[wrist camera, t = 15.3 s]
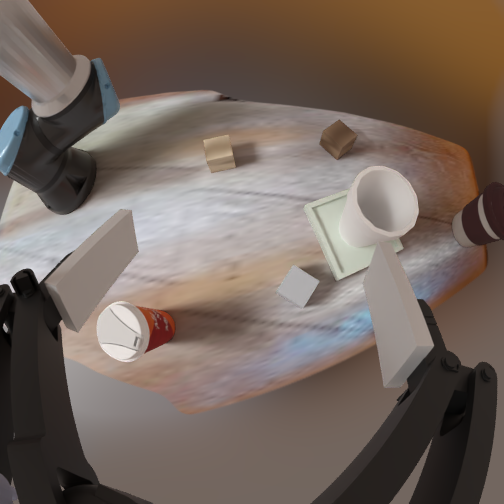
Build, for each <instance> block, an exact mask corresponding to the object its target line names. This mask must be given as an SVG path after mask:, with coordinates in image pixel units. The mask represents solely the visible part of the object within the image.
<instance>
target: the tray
mask: <svg viewBox="0 0 504 504" xmlns="http://www.w3.org/2000/svg"><path fill="white" fill-rule="evenodd" d="M349 190H350V188H349V189H347V190H344V191H341V192H339V193H336V194H333V195H330V196H328V197H325V198H322V199H320V200H317V201H314V202H312V203H309V204H306V205H305V207H304V211H305V213H306V215H307V218H308V220H309V222H310V224H311V226H312V228H313V230H314V233H315V235H316V237H317V239H318V241H319V244H320V246H321V248H322V250H323V253H324V255H325V257H326V259H327V262H328V264H329V266H330V269H331V271H332V273H333V276H334V278H335V281H337V280H340V279H342V278H344V277H346V276H348V275H351V274H353V273H355V272H357V271H359V270H361V269H363V268H366V267H368V266H369V265H370V263H371V260H372V257H373V254H374V251H375V248H376V245H377V243H376V244H373V245H369V246H365V247H359V248H356V247H353V246H349V245H348V244H347V243H346V242H345V241H344V240H343V239H342V237H341V235H340V233H339V222H340V219H341V216H342V213H343V210H344V207H345V204H346V201H347V194H348V192H349ZM384 242H387V243H391V244H392V246H393V248H394V250H395V252H398V251H400V250H402V249H404V248H403V246H402V243H401V241H400V239H399V238H398V239H396V240H390V241H384Z"/></svg>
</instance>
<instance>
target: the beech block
mask: <svg viewBox="0 0 504 504" xmlns="http://www.w3.org/2000/svg"><path fill="white" fill-rule="evenodd" d="M203 142H204V149H205V155H206V161H207V164H208V166H209V169H210V171H211V173H214V172H218V171H223V170H227V169H232V168H236V165H235V161H234V156H233V151H232V146H231V142H230V138H229V134H228V135H223V136H219V137H214V138H210V139H206V140H203Z"/></svg>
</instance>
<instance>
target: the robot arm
mask: <svg viewBox="0 0 504 504" xmlns="http://www.w3.org/2000/svg"><path fill="white" fill-rule="evenodd" d="M0 75H1V76H2V77H4V78H5V79H6V80H8V81H9V82H10V83H12V84H13V85H14V86H15V87H17V88H18V89H19V90H21V91H22V92H23V93H25V94H26V95H27V96H29V97H30V98H31V99H32V108H31V109H30V110H28V108H27V107H25V106H20V107H19V108H17V109H16V110H14V111H13V112H12V114H11V115H10V116H9V117H8V119H7V120H6V121H5V123H4V125H3V126H2V128H1V130H0V171H1V172H2V173H3V174H4V175H5V176H8V177H9V178H11V179H13V180H15V181H16V182H18V183H20V184H21V185H23V186H25V187H27V188H28V189H30V190H32V191H34V192H35V193H37V195H38V196H39V197H40V199H41V200H42V202H43V203H44V204H45V206H46V207H47V208H48V209H49V210H51V211H53V212H54V213H56V214H60V215H64V214H68V213H70V212H72V211H74V210H75V209H76V208H77V207H79V206H80V205H81V204H82V202H83V201H84V200H85V199H86V197H87V196H88V194H89V192H90V190H91V188H92V186H93V183H94V180H95V176H96V164H95V161H94V159H93V158H92V157H91V156H90V155H89V154H88V153H87V152H85V151H84V150H80V149H76V148H73V147H71V146H73V145H74V144H75V143H77V142H78V141H79V140H81V139H82V138H84V137H85V136H86V135H88V134H89V133H91V132H92V131H94V130H95V129H97V128H98V127H100V126H101V125H103V124H105V123H106V121H107V120H109V119H110V118H111V117H113V116H114V115H116V114H117V113H118V111H119V109H120V103H119V100H118V98H117V96H116V93H115V91H114V88H113V86H112V83H111V81H110V78H109V76H108V73H107V71H106V69H105V66H104V64H103V62H102V60H101V59H100V58H97V59H93V60H92V61H91V62H90V61H89V60H88V58H86V57H85V56H83V55H74V56H72V55H71V53H70V52H69V51H68V50H67V48H66V47H65V46H64V45H63V44H62V42H61V41H60V40H59V39H58V37H57V36H56V35H55V34H54V32H53V31H52V30H51V29H50V27H49V26H48V25H47V24H46V22H45V21H44V20H43V19H42V17H41V16H40V15H39V14H38V12H37V11H36V10H35V8H34V7H33V6H32V5H31V3H29V1H28V0H0ZM138 252H139V251H138V246H137V241H136V235H135V229H134V223H133V216H132V210H123V209H120V210H119V211H118V212H117V213H116V214H114V215H113V216H112V217H111V218H110V219H109V220H108V221H106V222H105V223H104V224H103V225H102V226H101V227H100V228H98V229H97V230H96V231H95V232H94V233H93V234H92V235H91V236H90V237H89V238H88V239H86V240H85V241H84V242H83V243H82V244H81V245H80V246H79V247H78V248H77V249H76V250H75V251H73V252H71V253H70V254H68V255H66V256H65V257H64V258H63V259H62V260H61V261H60V263H58V264H57V265H56V266H55V268H54V269H53V270H52V271H51V272H50V273H49V274H48V275H47V276H46V277H45V278H44V279H43V280H42V281H41V282H40V283H39V284H38V281H37V279H36V277H35V275H34V272H33V271H32V270H31V269H23V270H21V271H19V272H17V273H16V274H15V275H14V276H13V277H12V279H11V281H10V282H11V284H12V286H13V288H14V290H15V292H16V293H12V291H11V289H10V287H9V286H8V285H7V284H3V285H0V504H13V501H12V500H17V499H19V503H20V504H153V503H151V502H149V501H146V500H144V499H141V498H139V497H136V496H133V495H131V494H129V493H126V492H123V491H119V490H117V489H113V488H110V487H108V486H105V485H102V484H100V483H99V481H98V478H97V476H96V474H95V472H94V470H93V468H92V467H91V466H90V464H89V463H88V462H87V460H86V458H85V456H84V453H83V450H82V446H81V443H80V440H79V437H78V432H77V428H76V424H75V421H74V417H73V412H72V407H71V402H70V397H69V392H68V386H67V379H66V373H65V366H64V357H63V347H62V334H61V327H60V325H59V323H60V321H61V320H63V322H64V324H65V325H66V327H67V328H68V329H71V330H73V331H76V332H79V331H80V329H81V328H82V326H83V325H84V323H85V322H86V321H87V319H88V318H89V316H90V315H91V313H92V312H93V311H94V309H95V308H96V306H97V305H98V304H99V302H100V301H101V300H102V298H103V297H104V295H105V294H106V293H107V291H108V290H109V289H110V287H111V286H112V285H113V284H114V282H115V281H116V280H117V278H118V277H119V276H120V274H121V273H122V272H123V271H124V269H125V268H126V267H127V266H128V264H129V263H130V262H131V261H132V259H133V258H134V257H135V256H136V254H137V253H138ZM363 285H364V289H365V293H366V297H367V301H368V306H369V310H370V314H371V319H372V323H373V328H374V333H375V338H376V343H377V347H378V353H379V359H380V365H381V371H382V377H383V383H384V388H397V387H401V386H402V385H403V383H404V382H405V381H406V380H407V382H408V389H407V390H406V391H405V392H404V393H403V394H402V395H401V396H400V397H399V398H398V399H397V401H398V403H397V404H396V406H395V407H394V409H393V411H392V412H391V413H390V415H389V416H388V417H387V419H386V420H385V422H384V423H383V424H382V426H381V427H380V429H379V430H378V431H377V432H376V434H375V435H374V436H373V438H372V439H371V440H370V441H369V443H368V444H367V445H366V446H365V448H364V449H363V450H362V451H361V452H360V454H359V455H358V456H357V457H356V458H355V459H354V460H353V462H352V463H351V464H350V465H349V466H348V467H347V468H346V470H344V472H343V473H342V474H341V475H340V476H339V477H338V478H337V479H336V480H335V481H334V482H333V483H332V484H331V485H330V486H329V487H328V488H327V489H326V490H325V491H324V492H323V493H322V494H321V495H320V496H318V497H317V498H316V499H315V500H314V501H313V502H312V503H311V504H389V503H390V502H391V501H392V499H393V498H394V496H395V495H396V494H397V493H398V491H399V490H400V489H401V487H402V486H403V484H404V483H405V482H406V480H407V479H408V477H409V476H410V474H411V473H412V471H413V470H414V468H415V466H416V465H417V463H418V461H419V460H420V458H421V457H422V455H423V453H424V452H425V450H426V448H427V446H428V445H429V443H430V441H431V439H432V437H433V439H432V443H431V446H430V449H429V453H428V456H427V459H426V462H425V465H424V468H423V470H422V473H421V476H420V478H419V481H418V484H417V486H416V488H415V491H414V493H413V496H412V498H411V500H410V502H409V504H479V501H480V498H481V495H482V491H483V488H484V484H485V480H486V476H487V471H488V467H489V462H490V456H491V451H492V445H493V438H494V430H495V420H496V407H497V406H496V405H497V374H496V372H495V370H494V368H493V367H492V366H491V365H490V364H488V363H487V362H480V363H479V364H478V365H477V366H476V367H475V368H474V369H472V368H469V367H465V366H462V365H461V362H460V360H459V359H458V357H457V356H456V355H455V354H454V353H452V352H450V351H447V350H446V347H445V344H444V342H443V339H442V336H441V333H440V331H439V328H438V326H437V325H436V324H437V323H436V321H435V319H434V316H433V313H432V311H431V309H430V307H429V306H428V305H427V303H426V302H425V301H424V300H423V299H416V296H415V294H414V292H413V289H412V287H411V285H410V282H409V280H408V278H407V276H406V274H405V271H404V269H403V267H402V265H401V263H400V261H399V259H398V256H397V254H396V252H395V250H394V248H393V246H392V244H391V243H387V242H381V241H378V242H377V245H376V248H375V251H374V254H373V257H372V260H371V263H370V265H369V268H368V271H367V274H366V276H365V279H364V282H363ZM4 323H5V325H6V326H7V328H8V332H7V333H6V332H5V331H4V329H3V324H4ZM14 433H15V438H14ZM12 477H13V481H14V485H15V488H14V487H12V486H11V481H12ZM60 485H61V486H62V487H63V488H64V489H65V490H64V491H62V490H61V487H60Z"/></svg>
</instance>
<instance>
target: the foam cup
mask: <svg viewBox="0 0 504 504" xmlns="http://www.w3.org/2000/svg"><path fill="white" fill-rule="evenodd" d="M418 213H419V208H418V200H417V195H416V194H415V192H414V190H413V188H412V186H411V184H410V182H409V181H408V180H407V179H405V178H404V177H403V176H402V175H401V174H400V173H399V172H398V171H395V170H393V169H390V168H388V167H385V166H372V167H368V168H367V169H365V170H363V171H362V172H360V173H359V174H358V175H357V177H356V178H355V180H354V181H353V183H352V185H351V187H350V190H349V192H348V194H347V201H346V204H345V207H344V210H343V213H342V216H341V219H340V222H339V233H340V235H341V237H342V239H343V240H344V241H345V242H346V243H347V244H348V245H349V246H353V247H356V248H359V247H365V246H369V245H373V244H376V243H377V242H378V241H381V242H384V241H390V240H396V239H398V238H400V237H401V236H403V235H404V234H406V233H407V232H408V231H409V230H410V229H411V228H412V227H414V225H415V222H416V219H417V216H418Z"/></svg>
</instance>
